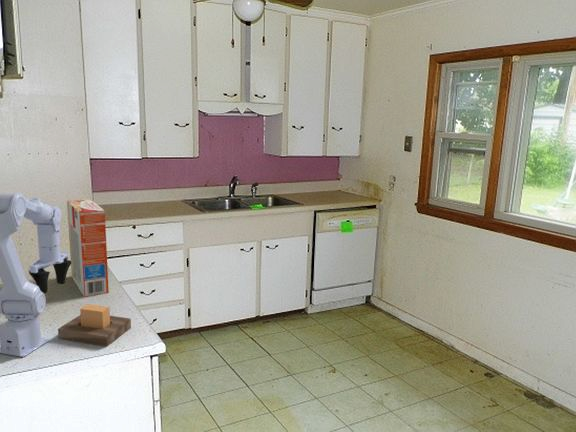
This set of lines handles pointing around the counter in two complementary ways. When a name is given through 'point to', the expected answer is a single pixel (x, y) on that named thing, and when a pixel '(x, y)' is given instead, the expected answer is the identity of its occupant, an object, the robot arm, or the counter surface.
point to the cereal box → (88, 246)
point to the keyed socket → (94, 331)
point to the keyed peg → (95, 316)
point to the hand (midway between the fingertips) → (52, 287)
